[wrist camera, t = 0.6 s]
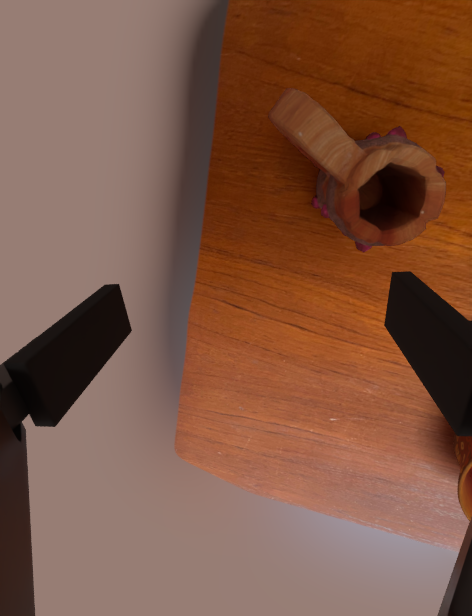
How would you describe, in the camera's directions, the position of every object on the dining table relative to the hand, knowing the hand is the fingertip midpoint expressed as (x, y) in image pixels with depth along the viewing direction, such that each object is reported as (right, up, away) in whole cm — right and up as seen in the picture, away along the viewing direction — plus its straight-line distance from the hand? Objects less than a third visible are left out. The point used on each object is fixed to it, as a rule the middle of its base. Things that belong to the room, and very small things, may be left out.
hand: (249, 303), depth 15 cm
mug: (+10, +14, +17) cm, 25 cm away
